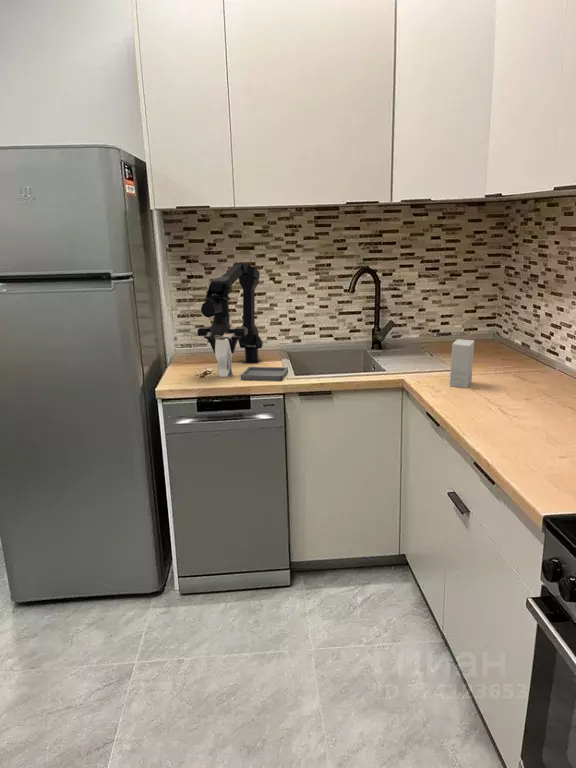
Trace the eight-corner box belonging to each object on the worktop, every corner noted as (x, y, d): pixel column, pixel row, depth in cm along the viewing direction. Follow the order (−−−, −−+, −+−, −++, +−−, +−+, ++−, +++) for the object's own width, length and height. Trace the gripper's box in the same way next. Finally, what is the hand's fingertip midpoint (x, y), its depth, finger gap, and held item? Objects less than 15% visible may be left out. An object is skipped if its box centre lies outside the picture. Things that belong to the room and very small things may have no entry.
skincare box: (454, 380, 215) (456, 338, 210) (473, 382, 212) (475, 340, 207) (449, 386, 207) (451, 343, 203) (468, 388, 204) (470, 344, 200)
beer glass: (231, 378, 228) (228, 339, 224) (214, 377, 229) (211, 339, 225) (236, 373, 234) (234, 336, 230) (219, 373, 236) (217, 336, 232)
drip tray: (249, 371, 237) (248, 366, 236) (288, 372, 234) (288, 367, 233) (240, 380, 224) (240, 375, 224) (282, 381, 221) (281, 375, 221)
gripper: (191, 316, 219) (194, 357, 223) (239, 316, 216) (241, 358, 220) (200, 312, 230) (203, 351, 234) (247, 312, 226) (249, 351, 231)
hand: (224, 353), depth 229 cm, fingers closed on beer glass, 7 cm apart
